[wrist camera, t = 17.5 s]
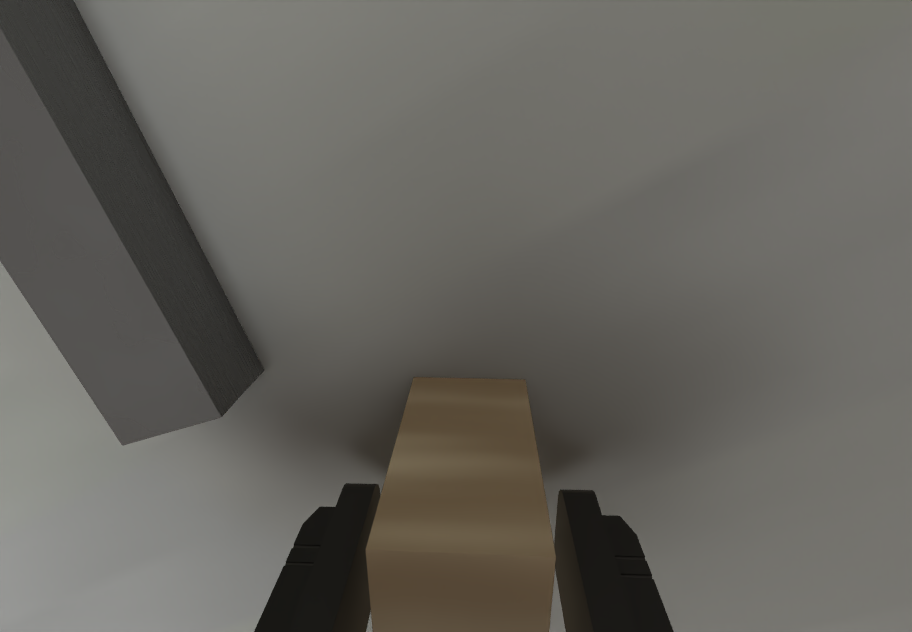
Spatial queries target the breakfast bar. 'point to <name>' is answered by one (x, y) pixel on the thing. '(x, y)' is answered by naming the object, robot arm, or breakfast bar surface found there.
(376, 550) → the l-shaped wooden block
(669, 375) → the breakfast bar surface
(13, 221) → the dark bar
